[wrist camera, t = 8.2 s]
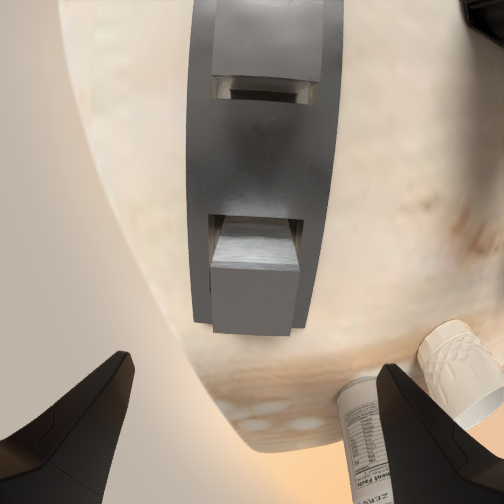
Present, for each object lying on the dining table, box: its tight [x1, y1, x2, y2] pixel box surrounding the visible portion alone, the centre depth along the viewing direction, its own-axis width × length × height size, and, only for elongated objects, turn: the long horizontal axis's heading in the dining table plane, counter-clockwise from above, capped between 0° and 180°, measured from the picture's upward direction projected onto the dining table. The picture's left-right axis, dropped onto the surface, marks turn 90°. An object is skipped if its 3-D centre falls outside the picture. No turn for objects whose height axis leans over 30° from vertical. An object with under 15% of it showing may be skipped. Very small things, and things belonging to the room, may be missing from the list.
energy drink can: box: [336, 377, 394, 504], centre depth 21 cm, size 6×6×15 cm
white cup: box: [417, 319, 504, 431], centre depth 20 cm, size 8×8×10 cm
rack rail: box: [186, 0, 344, 328], centre depth 16 cm, size 8×23×2 cm, turn 177°
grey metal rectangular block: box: [211, 0, 323, 94], centre depth 11 cm, size 4×4×7 cm
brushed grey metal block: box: [210, 215, 300, 336], centre depth 17 cm, size 4×4×7 cm
